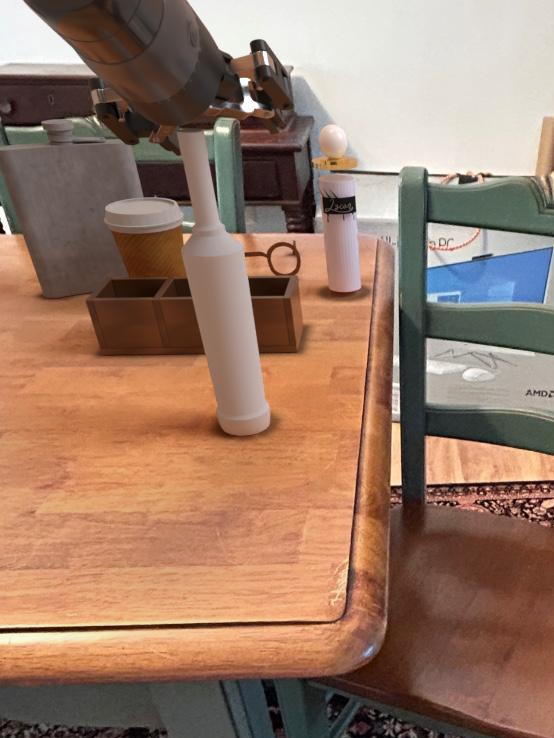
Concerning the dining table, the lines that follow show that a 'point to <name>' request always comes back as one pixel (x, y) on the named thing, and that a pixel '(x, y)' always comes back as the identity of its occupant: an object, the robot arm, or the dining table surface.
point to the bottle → (222, 300)
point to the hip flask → (69, 205)
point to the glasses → (269, 252)
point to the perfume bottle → (338, 211)
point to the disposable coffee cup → (148, 236)
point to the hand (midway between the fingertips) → (226, 132)
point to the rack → (186, 315)
